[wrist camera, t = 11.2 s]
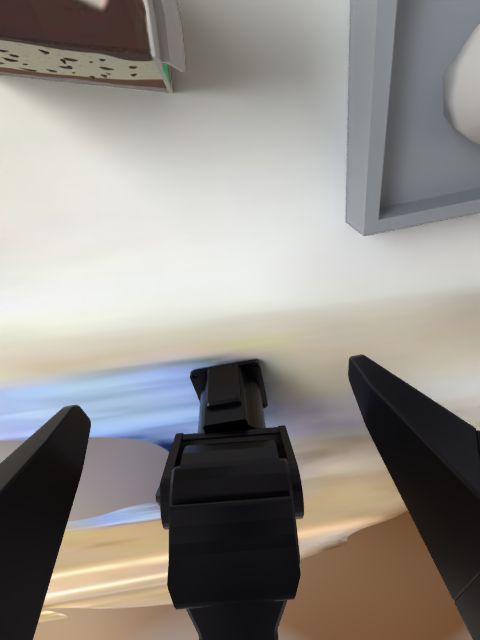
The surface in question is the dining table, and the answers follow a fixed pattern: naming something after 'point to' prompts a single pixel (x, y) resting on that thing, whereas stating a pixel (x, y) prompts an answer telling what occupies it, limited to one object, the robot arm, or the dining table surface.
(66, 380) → the dining table surface
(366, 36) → the bin
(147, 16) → the food container
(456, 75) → the salt shaker
